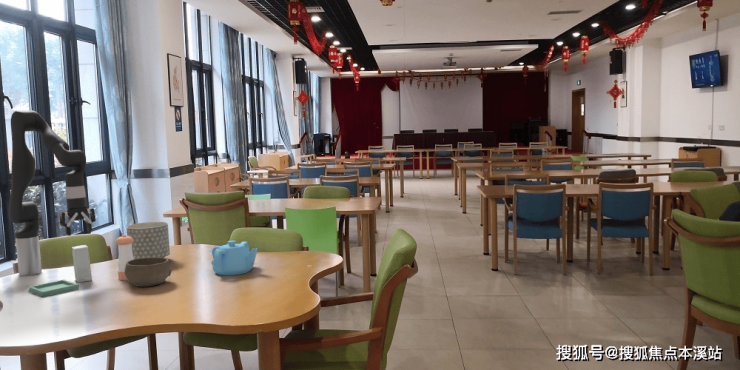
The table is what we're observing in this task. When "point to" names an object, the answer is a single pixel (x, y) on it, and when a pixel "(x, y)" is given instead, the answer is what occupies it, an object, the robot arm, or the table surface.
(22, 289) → the table surface
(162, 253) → the planter
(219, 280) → the table surface
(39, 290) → the tray
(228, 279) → the table surface
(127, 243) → the salt shaker
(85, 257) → the skincare box
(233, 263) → the teapot
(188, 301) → the table surface
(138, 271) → the bowl
